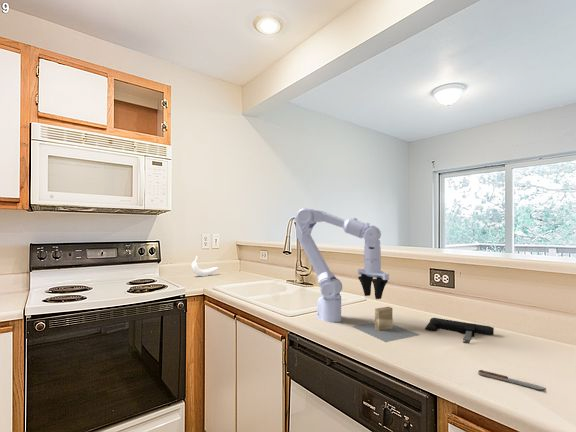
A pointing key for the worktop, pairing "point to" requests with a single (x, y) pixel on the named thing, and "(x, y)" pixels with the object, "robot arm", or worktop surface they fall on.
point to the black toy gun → (459, 328)
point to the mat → (385, 332)
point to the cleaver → (505, 379)
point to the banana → (200, 271)
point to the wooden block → (383, 318)
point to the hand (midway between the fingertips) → (372, 297)
